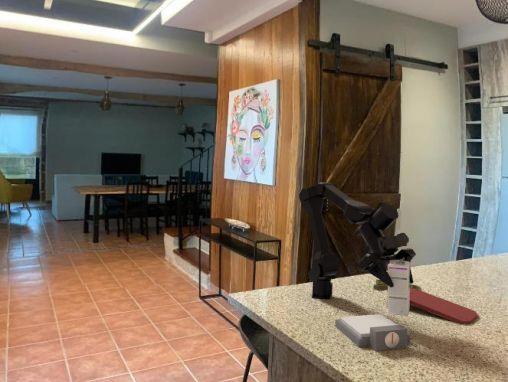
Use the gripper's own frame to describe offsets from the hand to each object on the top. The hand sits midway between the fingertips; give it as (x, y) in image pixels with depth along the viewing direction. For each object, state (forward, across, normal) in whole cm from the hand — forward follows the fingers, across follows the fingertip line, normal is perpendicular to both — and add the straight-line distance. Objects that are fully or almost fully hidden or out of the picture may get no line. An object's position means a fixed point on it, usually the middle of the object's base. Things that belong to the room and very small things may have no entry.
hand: (402, 284), depth 120 cm
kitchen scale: (+9, -10, +10) cm, 17 cm away
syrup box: (+5, 0, +7) cm, 9 cm away
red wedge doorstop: (+5, +23, +15) cm, 28 cm away
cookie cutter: (-10, +31, +30) cm, 44 cm away
